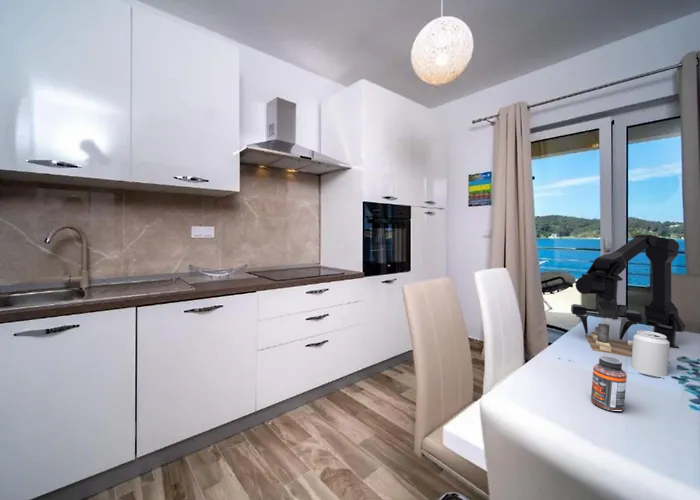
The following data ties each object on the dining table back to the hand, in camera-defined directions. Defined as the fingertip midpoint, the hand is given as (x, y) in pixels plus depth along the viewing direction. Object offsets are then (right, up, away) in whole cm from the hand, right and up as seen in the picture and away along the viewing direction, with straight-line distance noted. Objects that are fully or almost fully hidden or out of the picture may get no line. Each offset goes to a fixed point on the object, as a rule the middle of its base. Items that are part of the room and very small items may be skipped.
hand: (603, 336), depth 106 cm
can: (-2, -6, -18) cm, 19 cm away
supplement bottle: (-29, -6, -35) cm, 46 cm away
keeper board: (+7, -5, 0) cm, 8 cm away
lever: (+2, -3, +3) cm, 5 cm away
